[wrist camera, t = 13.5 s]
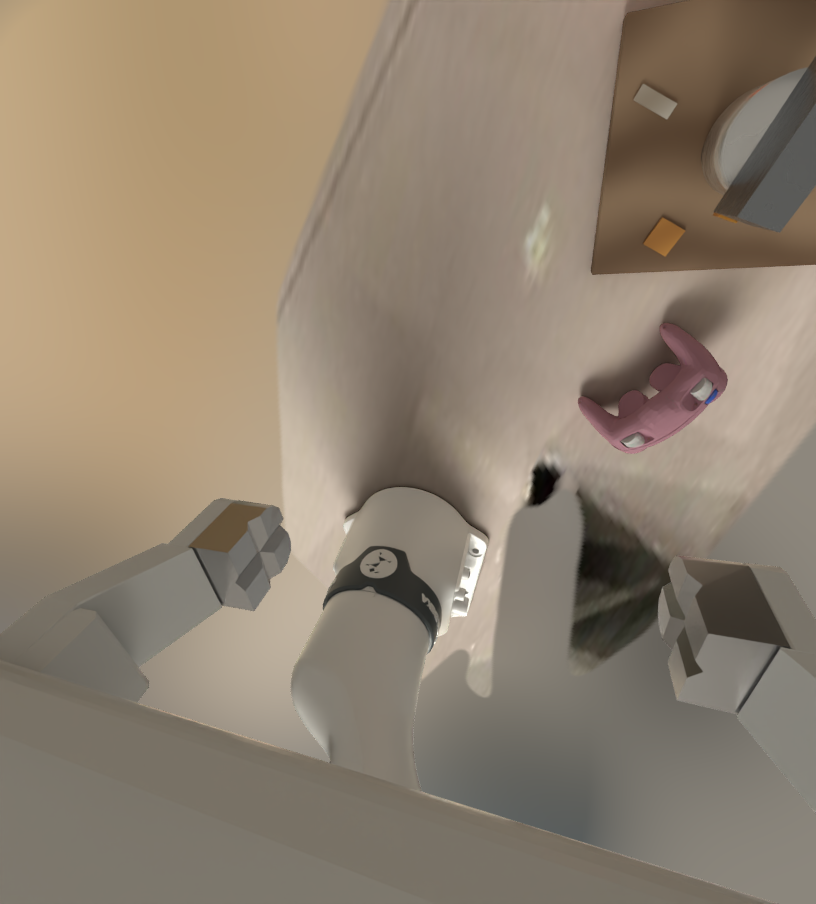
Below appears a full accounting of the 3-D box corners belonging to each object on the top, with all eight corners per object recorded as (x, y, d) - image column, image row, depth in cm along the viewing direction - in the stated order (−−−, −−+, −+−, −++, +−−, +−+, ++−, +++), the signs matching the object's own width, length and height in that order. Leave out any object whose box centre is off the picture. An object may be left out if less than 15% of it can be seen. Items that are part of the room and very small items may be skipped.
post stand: (812, 260, 28) (854, 274, 24) (590, 271, 32) (596, 284, 28) (928, -41, 21) (1017, -92, 17) (623, 20, 25) (637, -9, 21)
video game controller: (600, 416, 40) (635, 472, 35) (569, 400, 38) (602, 457, 33) (696, 336, 34) (754, 391, 29) (665, 312, 32) (722, 366, 27)
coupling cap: (763, 40, 20) (845, -13, 15) (862, 74, 20) (985, 34, 15) (668, 200, 25) (704, 207, 19) (749, 230, 24) (810, 247, 19)
